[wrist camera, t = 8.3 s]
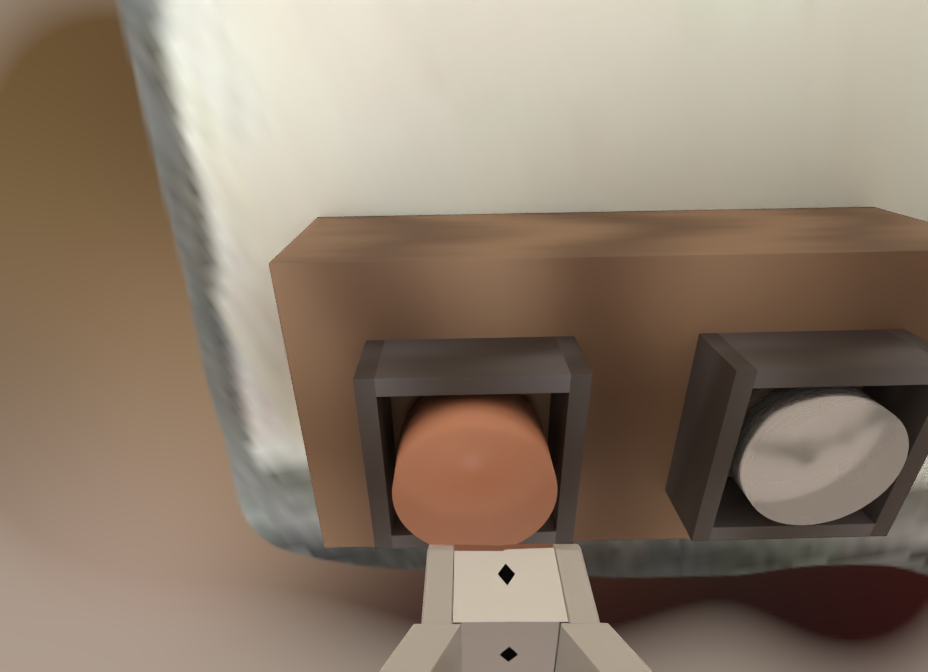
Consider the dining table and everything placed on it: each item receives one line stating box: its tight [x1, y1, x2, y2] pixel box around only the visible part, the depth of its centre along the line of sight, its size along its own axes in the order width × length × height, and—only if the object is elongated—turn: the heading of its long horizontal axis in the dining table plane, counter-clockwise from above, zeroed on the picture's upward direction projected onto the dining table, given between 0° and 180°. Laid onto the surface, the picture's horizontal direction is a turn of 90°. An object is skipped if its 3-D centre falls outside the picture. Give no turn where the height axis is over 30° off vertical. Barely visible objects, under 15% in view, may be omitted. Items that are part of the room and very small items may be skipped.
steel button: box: [729, 386, 909, 525], centre depth 14 cm, size 4×4×2 cm
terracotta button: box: [392, 394, 557, 547], centre depth 13 cm, size 4×4×2 cm
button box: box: [269, 207, 928, 549], centre depth 16 cm, size 19×10×7 cm, turn 91°
